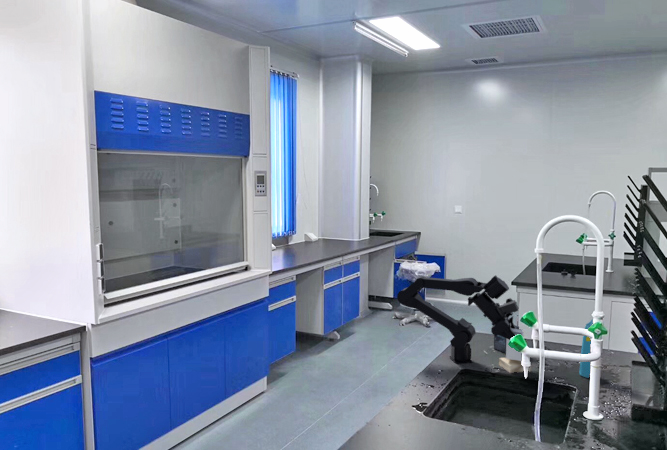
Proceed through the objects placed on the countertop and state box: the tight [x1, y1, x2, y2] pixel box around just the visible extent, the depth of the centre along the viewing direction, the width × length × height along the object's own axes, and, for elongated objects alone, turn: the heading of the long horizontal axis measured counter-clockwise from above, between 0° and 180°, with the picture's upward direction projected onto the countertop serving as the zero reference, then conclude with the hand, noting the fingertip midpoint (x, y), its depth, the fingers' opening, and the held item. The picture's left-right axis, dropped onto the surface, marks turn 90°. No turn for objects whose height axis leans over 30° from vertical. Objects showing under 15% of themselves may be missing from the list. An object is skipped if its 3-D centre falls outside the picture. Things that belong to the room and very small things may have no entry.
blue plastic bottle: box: [578, 318, 594, 379], centre depth 173 cm, size 7×5×19 cm, turn 144°
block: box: [498, 357, 532, 374], centre depth 182 cm, size 8×8×3 cm
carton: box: [505, 328, 525, 361], centre depth 181 cm, size 6×6×10 cm
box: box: [493, 324, 520, 354], centre depth 200 cm, size 8×6×11 cm
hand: (519, 340), depth 180 cm, fingers closed on carton, 5 cm apart
